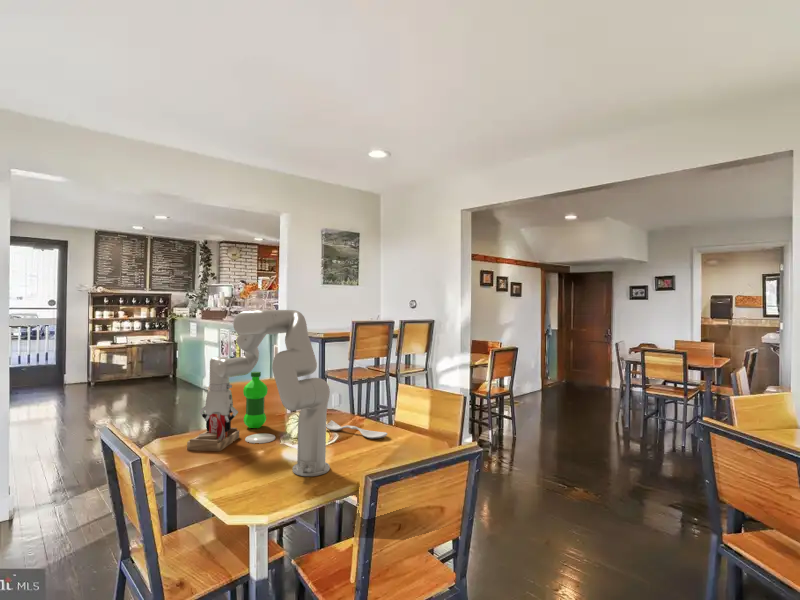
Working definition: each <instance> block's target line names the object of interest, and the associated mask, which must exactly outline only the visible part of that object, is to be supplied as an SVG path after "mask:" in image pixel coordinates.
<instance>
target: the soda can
mask: <svg viewBox="0 0 800 600" xmlns="http://www.w3.org/2000/svg"><path fill="white" fill-rule="evenodd" d="M225 422H226V419H225V416H223V415H221V413H212V415H210V420H209V433H217V439H221V441H222V440H223V439H225V438H226V437H227V434H228V431H227V432H225Z"/></svg>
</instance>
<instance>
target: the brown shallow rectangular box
mask: <svg viewBox="0 0 800 600" xmlns="http://www.w3.org/2000/svg"><path fill="white" fill-rule="evenodd" d="M204 433H209V431H207V430H206V431H204V432H202V433H201V434H204ZM198 437H199V435H197V436H196V437H194V438H190V439H189V440H188V441H187V442H186V444H187V445H186V450H187V451H201V452H202V451H204V452H221V451H222V450H224V449H225V448H227V447H229V446H230V445H231V444H233V441H234V442H235V441H237V440H238V439H240V429H238V428H237V427H231V428H230V430H229V431H228V434H227V437H226V438H225V439H223V440H222V441H220V442H219V440H207V439H198Z"/></svg>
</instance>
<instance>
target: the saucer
mask: <svg viewBox="0 0 800 600" xmlns="http://www.w3.org/2000/svg"><path fill="white" fill-rule="evenodd" d="M244 440H245V442H247V443H248V442H249V443H248V444H255V443H259V444H267V443H270V442H273V441H274V440H276V436H275V434H271V433H254V434H251V435H250V434H249V435H248V436H246V437H245V439H244Z"/></svg>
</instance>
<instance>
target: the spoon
mask: <svg viewBox="0 0 800 600" xmlns="http://www.w3.org/2000/svg"><path fill="white" fill-rule="evenodd" d="M326 427H327V429H326V430H330V431H341V430H344V429H350V430H357V431H359V432H360V434H361V435H362V436H363V437H365V438H368V439H371V440H372V439H381V438H385V437H386V436H388V432H385V431H376V430H375V431H374V430H367V429H364V428H360V427H358V426H356V425H343V426H341V425H339V424H338V423H337V422H335V421H334V420H330V421H329V422H328V423H326Z"/></svg>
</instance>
